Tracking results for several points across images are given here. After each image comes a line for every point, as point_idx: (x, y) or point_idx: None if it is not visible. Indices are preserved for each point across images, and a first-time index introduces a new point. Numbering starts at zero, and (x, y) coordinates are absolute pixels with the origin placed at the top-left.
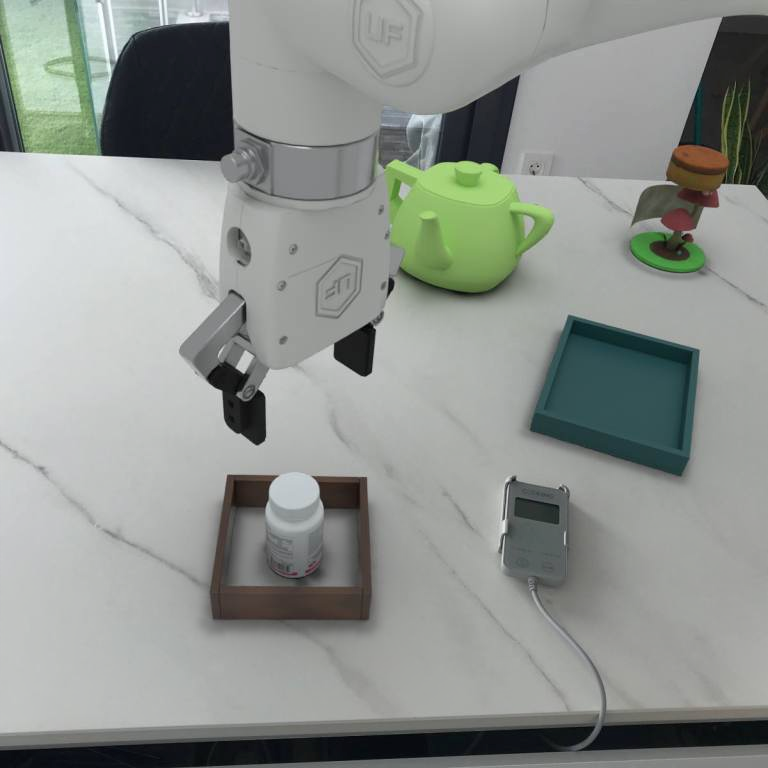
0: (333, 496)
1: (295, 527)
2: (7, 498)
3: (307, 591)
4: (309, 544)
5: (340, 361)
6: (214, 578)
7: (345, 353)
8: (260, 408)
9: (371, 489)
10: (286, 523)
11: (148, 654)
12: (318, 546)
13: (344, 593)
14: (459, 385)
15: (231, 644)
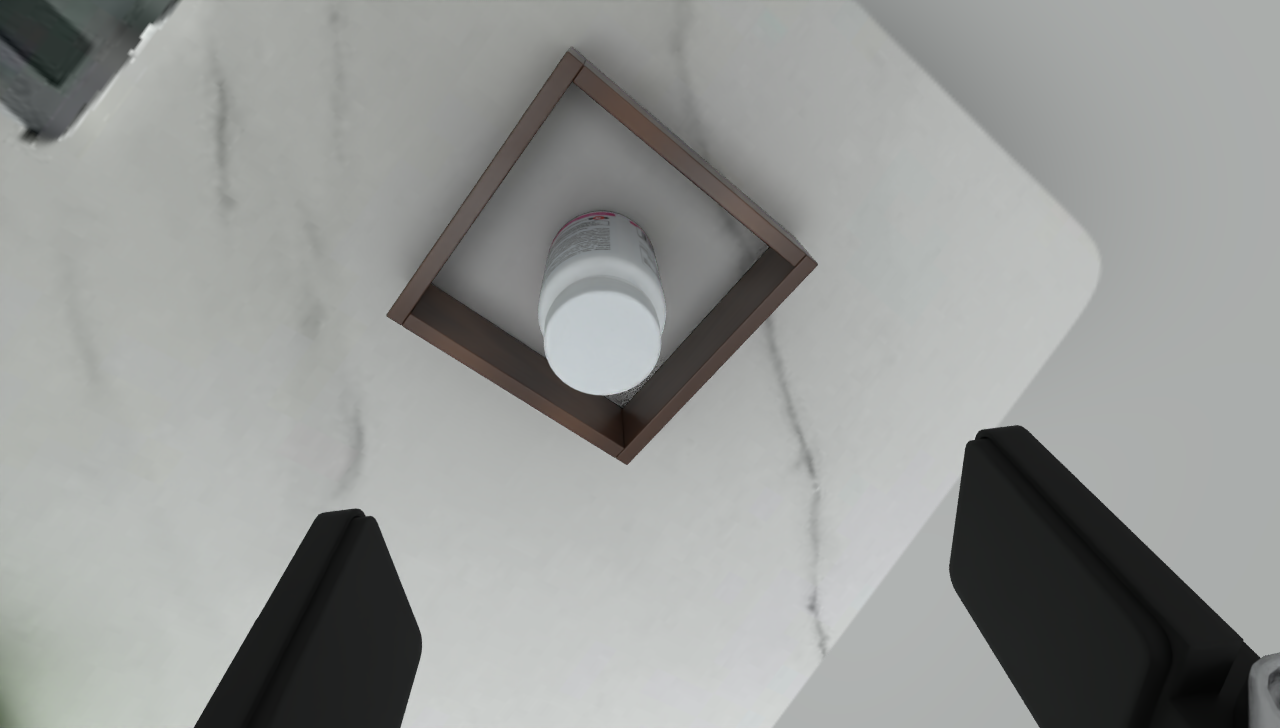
0: (466, 324)
1: (636, 274)
2: (877, 584)
3: (675, 149)
4: (607, 239)
5: (410, 619)
6: (791, 286)
7: (385, 651)
8: (1156, 575)
9: (375, 303)
10: (646, 293)
11: (910, 245)
12: (581, 232)
13: (615, 94)
14: (20, 421)
15: (803, 175)
